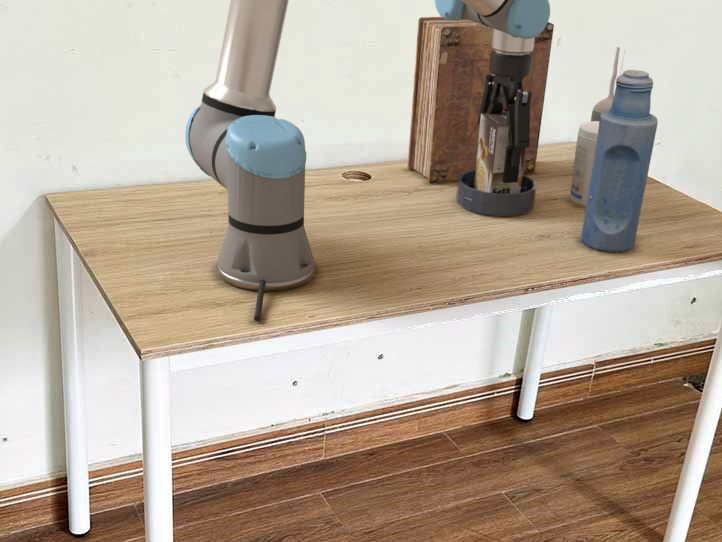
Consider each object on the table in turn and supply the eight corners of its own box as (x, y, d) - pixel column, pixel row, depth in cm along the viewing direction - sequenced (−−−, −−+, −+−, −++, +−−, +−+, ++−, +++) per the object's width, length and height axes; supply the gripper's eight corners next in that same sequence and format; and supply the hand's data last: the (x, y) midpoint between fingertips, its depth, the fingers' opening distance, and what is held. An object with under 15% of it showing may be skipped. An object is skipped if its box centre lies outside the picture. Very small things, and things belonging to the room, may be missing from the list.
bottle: (636, 238, 192) (668, 69, 177) (632, 257, 183) (664, 82, 168) (583, 230, 193) (610, 62, 178) (577, 248, 185) (604, 74, 170)
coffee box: (519, 209, 200) (530, 125, 192) (488, 211, 198) (497, 126, 190) (501, 193, 207) (511, 111, 199) (471, 194, 205) (479, 111, 197)
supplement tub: (622, 199, 210) (635, 125, 202) (611, 213, 202) (624, 137, 195) (575, 190, 213) (586, 117, 205) (562, 204, 205) (573, 128, 198)
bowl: (547, 214, 199) (550, 191, 197) (476, 220, 194) (479, 197, 192) (511, 188, 211) (514, 166, 209) (444, 193, 206) (446, 171, 204)
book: (428, 184, 210) (440, 27, 195) (407, 169, 217) (417, 17, 202) (535, 172, 221) (554, 23, 206) (511, 159, 228) (529, 13, 213)
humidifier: (597, 159, 232) (616, 41, 219) (626, 169, 227) (647, 49, 214) (572, 165, 227) (590, 45, 215) (601, 175, 222) (621, 53, 209)
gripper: (560, 65, 181) (543, 191, 192) (503, 37, 198) (490, 154, 210) (521, 66, 178) (506, 194, 190) (467, 38, 196) (456, 157, 207)
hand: (498, 173), depth 200 cm, fingers closed on coffee box, 9 cm apart
